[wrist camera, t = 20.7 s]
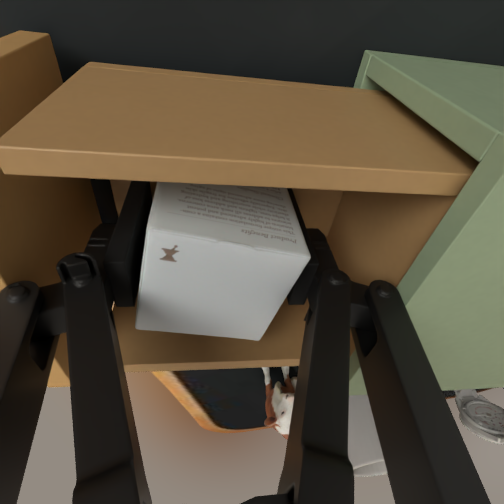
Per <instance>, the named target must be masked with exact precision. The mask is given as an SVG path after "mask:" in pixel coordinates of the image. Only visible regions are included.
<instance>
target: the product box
mask: <svg viewBox="0 0 504 504" xmlns="http://www.w3.org/2000/svg"><path fill="white" fill-rule="evenodd" d="M310 258H311V256H310V253H309V250H308V247H307V245H306V242H305V239H304V236H303V233H302V230H301V227H300V225H299V222H298V219H297V216H296V213H295V210H294V207H293V204H292V201H291V199H290V196H289V193H288V190H287V188H276V187H255V186H234V185H213V184H192V183H172V182H157V185H156V190H155V194H154V198H153V202H152V207H151V211H150V215H149V219H148V224H147V229H146V236H145V244H144V252H143V259H142V266H141V275H140V283H139V291H138V300H137V309H136V320H135V328H136V329H139V330H151V331H163V332H174V333H185V334H197V335H207V336H218V337H229V338H239V339H247V340H255V341H259V340H260V339H261V337H262V336H263V334H264V333H265V331H266V330H267V328H268V326H269V325H270V323H271V321H272V320H273V318H274V316H275V315H276V313H277V312H278V310H279V308H280V306H281V305H282V303H283V302H284V300H285V298H286V297H287V295H288V293H289V292H290V290H291V289H292V287H293V285H294V284H295V282H296V281H297V279H298V278H299V276H300V274H301V273H302V271H303V269H304V268H305V266H306V265H307V263H308V262H309V260H310Z"/></svg>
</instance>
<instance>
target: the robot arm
mask: <svg viewBox="0 0 504 504" xmlns="http://www.w3.org/2000/svg"><path fill="white" fill-rule="evenodd" d="M287 190H288V193H289V196H290V199H291V201H292V204H293V207H294V210H295V213H296V216H297V219H298V222H299V225H300V227H301V230H302V233H303V236H304V239H305V242H306V245H307V247H308V250H309V253H310V256H311V258H310V260H309V262H308V263H307V265H306V266H305V268H304V269H303V271H302V273H301V274H300V276H299V278H298V279H297V281H296V282H295V284H294V285H293V287H292V289H291V290H290V292H289V293H288V295H287V300H288V304H289V305H304V304H305V301H306V299H308V302H309V308H308V311H307V313H306V316H305V318H304V321H306V323H305V330H304V336H303V343H302V349H301V356H300V363H299V369H298V376H297V382H296V389H295V395H294V402H293V409H292V415H291V422H290V428H289V435H288V442H287V448H286V455H285V461H284V466H283V471H282V474H281V478H280V482H279V486H278V492H277V494H276V495H267V496H257V497H254V498H252V499H249V500H247V501H245V502H243V503H241V504H354V471H353V466H352V464H351V462H350V460H349V458H348V416H349V368H350V329H351V333H352V337H353V340H354V344H355V348H356V352H357V356H358V360H359V364H360V368H361V372H362V375H363V379H364V383H365V387H366V391H367V395H368V399H369V403H370V407H371V411H372V414H373V418H374V422H375V426H376V430H377V434H378V438H379V442H380V446H381V449H382V453H383V457H384V461H385V465H386V469H387V473H388V477H389V481H390V485H391V488H392V492H393V496H394V500H395V504H491V503H490V501H489V498H488V496H487V494H486V492H485V489H484V487H483V484H482V482H481V480H480V478H479V475H478V473H477V471H476V469H475V466H474V464H473V462H472V459H471V457H470V455H469V452H468V450H467V448H466V445H465V443H464V441H463V438H462V436H461V434H460V431H459V429H458V427H457V425H456V422H455V420H454V418H453V416H452V413H451V411H450V408H449V406H448V404H447V402H446V399H445V397H444V395H443V392H442V390H441V388H440V385H439V383H438V381H437V378H436V376H435V374H434V372H433V369H432V367H431V365H430V362H429V360H428V358H427V355H426V353H425V351H424V349H423V346H422V344H421V342H420V339H419V337H418V335H417V332H416V330H415V328H414V325H413V323H412V321H411V319H410V316H409V314H408V312H407V309H406V307H405V305H404V302H403V300H402V298H401V296H400V293H399V291H398V290H397V288H396V287H394V286H393V285H392V284H391V283H389V282H387V281H383V280H374V281H372V282H371V283H370V285H369V286H367V285H364V284H360V283H356V282H353V281H351V280H350V278H349V276H348V275H347V274H346V273H344V272H343V271H341V270H339V268H338V266H337V263H336V261H335V259H334V256H333V254H332V251H331V249H330V247H329V244H328V242H327V239H326V237H325V235H324V234H323V233H322V232H321V231H320V230H319V229H318V228H306V226H305V223H304V221H303V218H302V215H301V212H300V209H299V207H298V204H297V201H296V198H295V196H294V193H293V190H292V188H287ZM151 207H152V195H151V187H150V181H131V183H130V186H129V189H128V192H127V195H126V197H125V200H124V203H123V206H122V209H121V212H120V215H119V217H118V220H117V223H116V224H100V225H98V226H97V227H96V228H95V229H94V230H93V231H92V234H91V236H90V240H89V241H88V243H87V246H86V248H85V250H84V252H76V253H72V254H69V255H67V256H65V257H63V258H62V259H61V260H60V261H59V262H58V263H57V266H56V270H57V272H58V274H59V277H60V279H61V282H59V283H55V284H51V285H47V286H43V287H38V285H37V284H36V283H34V282H32V281H19V282H15V283H12V284H10V285H8V286H6V287H5V288H4V289H2V290H1V291H0V504H17V500H18V496H19V492H20V488H21V484H22V480H23V476H24V473H25V469H26V465H27V461H28V457H29V453H30V449H31V445H32V442H33V438H34V434H35V430H36V426H37V422H38V418H39V414H40V411H41V407H42V403H43V399H44V394H45V391H46V387H47V384H48V380H49V376H50V372H51V368H52V364H53V360H54V356H55V353H56V349H57V345H58V341H59V337H60V334H62V333H65V332H66V336H67V349H68V363H69V377H70V391H71V404H72V419H73V432H74V447H75V461H76V474H77V481H76V486H75V488H74V491H73V500H72V502H73V504H152V500H151V496H150V492H149V488H148V484H147V481H146V476H145V471H144V466H143V461H142V456H141V451H140V446H139V442H138V437H137V431H136V426H135V421H134V416H133V411H132V406H131V402H130V396H129V391H128V386H127V381H126V376H125V370H124V365H123V360H122V355H121V350H120V345H119V340H118V335H117V330H116V325H115V320H114V315H113V312H112V305H113V302H114V301H115V304H116V307H135V303H136V298H137V294H138V289H139V283H140V275H141V266H142V259H143V252H144V244H145V236H146V229H147V224H148V219H149V215H150V211H151Z"/></svg>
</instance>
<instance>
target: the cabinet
mask: <svg viewBox="0 0 504 504" xmlns="http://www.w3.org/2000/svg"><path fill="white" fill-rule="evenodd" d="M353 88H359V89H369V90H379V91H387V92H388V93H390V94H391V95H392V96H394V97H395V98H396V99H398V100H399V101H400V102H401V103H403V104H404V105H405V106H407V107H408V108H409V109H411V110H412V111H413V112H414V113H416V114H417V115H418V116H420V117H421V118H422V119H423V120H425V121H426V122H427V123H429V124H430V125H431V126H433V127H434V128H435V129H436V130H438V131H439V132H440V133H442V134H443V135H444V136H446V137H447V138H448V139H449V140H451V141H452V142H453V143H455V144H456V145H457V146H458V147H460V148H461V149H462V150H464V151H465V152H466V153H468V154H469V155H470V156H471V157H473V158H474V159H475V160H477V161H478V162H480V163H479V164H478V166H477V167H476V169H475V170H474V172H473V173H472V175H471V176H470V178H469V179H468V181H467V182H466V184H465V185H464V187H463V188H462V190H461V191H460V193H459V194H458V196H457V197H456V199H455V200H454V202H453V203H452V205H451V206H450V208H449V209H448V211H447V212H446V214H445V215H444V217H443V218H442V220H441V221H440V223H439V224H438V226H437V227H436V229H435V230H434V232H433V233H432V235H431V236H430V238H429V239H428V241H427V242H426V244H425V245H424V247H423V248H422V250H421V251H420V253H419V254H418V256H417V257H416V259H415V260H414V262H413V263H412V265H411V266H410V268H409V269H408V271H407V272H406V274H405V275H404V277H403V278H402V280H401V281H400V283H399V284H398V286H397V287H396V288H397V290H398V291H399V293H400V296H401V298H402V300H403V302H404V305H405V307H406V309H407V312H408V314H409V316H410V319H411V321H412V323H413V325H414V328H415V330H416V332H417V335H418V337H419V339H420V342H421V344H422V346H423V349H424V351H425V353H426V355H427V358H428V360H429V362H430V365H431V367H432V369H433V372H434V374H435V376H436V378H437V381H438V383H439V385H440V388H441V390H442V391H444V390H462V389H481V388H499V387H504V66H496V65H488V64H480V63H471V62H463V61H455V60H446V59H438V58H429V57H421V56H413V55H404V54H396V53H387V52H379V51H371V50H365V52H364V55H363V58H362V61H361V65H360V68H359V71H358V74H357V78H356V81H355V84H354V87H353ZM351 395H367V391H366V387H365V383H364V379H363V375H362V372H361V368H360V364H359V360H358V356H357V352H356V349H355V350H354V352H353V353H352V355H351V356H350V368H349V396H351Z"/></svg>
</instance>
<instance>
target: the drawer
mask: <svg viewBox="0 0 504 504" xmlns="http://www.w3.org/2000/svg"><path fill="white" fill-rule="evenodd" d="M479 163H480V162H478V161H477V160H475V159H474V158H473V157H471V156H470V155H469V154H468V153H466V152H465V151H464V150H462V149H461V148H460V147H458V146H457V145H456V144H455V143H453V142H452V141H451V140H449V139H448V138H447V137H446V136H444V135H443V134H442V133H440V132H439V131H438V130H436V129H435V128H434V127H433V126H431V125H430V124H429V123H427V122H426V121H425V120H423V119H422V118H421V117H420V116H418V115H417V114H416V113H414V112H413V111H412V110H411V109H409V108H408V107H407V106H405V105H404V104H403V103H401V102H400V101H399V100H398V99H396V98H395V97H394V96H392V95H391V94H390V93H388V92H387V91H379V90H369V89H359V88H349V87H339V86H329V85H319V84H309V83H299V82H288V81H278V80H268V79H258V78H248V77H238V76H228V75H218V74H208V73H198V72H188V71H178V70H168V69H158V68H148V67H138V66H128V65H118V64H108V63H98V62H88V63H87V64H86V65H85V66H84V67H82V68H81V69H80V70H79V71H77V72H76V73H75V74H74V75H73V76H72V77H70V78H69V79H68V80H67V81H66V82H65V83H63V80H62V77H61V73H60V70H59V66H58V62H57V59H56V55H55V52H54V48H53V44H52V41H51V37H50V35H49V34H48V33H39V32H30V31H21V30H19V31H17V32H14V33H12V34H9V35H7V36H4V37H1V38H0V291H1V290H2V289H4V288H5V287H6V286H8V285H10V284H12V283H15V282H19V281H32V282H34V283H36V284H37V285H38V287H43V286H47V285H51V284H55V283H59V282H61V279H60V277H59V274H58V272H57V270H56V266H57V263H58V262H59V261H60V260H61V259H62V258H63V257H65V256H67V255H69V254H72V253H76V252H84V250H85V248H86V246H87V243H88V241H89V240H90V236H91V234H92V231H93V230H94V229H95V228H96V227H97V226H98V225H100V224H102V221H101V217H100V214H99V210H98V206H97V203H96V199H95V196H94V192H93V188H92V185H91V181H90V179H109V180H110V183H111V188H112V192H113V196H114V201H115V205H116V210H117V214H118V217H119V215H120V212H121V209H122V206H123V203H124V200H125V197H126V195H127V192H128V189H129V186H130V183H131V181H150V187H151V195H152V202H153V198H154V194H155V190H156V185H157V182H172V183H192V184H213V185H234V186H255V187H276V188H292V190H293V193H294V196H295V198H296V201H297V204H298V207H299V209H300V212H301V215H302V218H303V221H304V223H305V226H306V228H318V229H319V230H320V231H321V232H322V233H323V234H324V235H325V237H326V239H327V242H328V244H329V247H330V249H331V251H332V254H333V256H334V259H335V261H336V263H337V266H338V268H339V270H341V271H343V272H344V273H346V274H347V275H348V276H349V278H350V280H351V281H353V282H356V283H360V284H364V285H367V286H369V285H370V283H371V282H372V281H374V280H383V281H387V282H389V283H391V284H392V285H393V286H394V287H397V286H398V284H399V283H400V281H401V280H402V278H403V277H404V275H405V274H406V272H407V271H408V269H409V268H410V266H411V265H412V263H413V262H414V260H415V259H416V257H417V256H418V254H419V253H420V251H421V250H422V248H423V247H424V245H425V244H426V242H427V241H428V239H429V238H430V236H431V235H432V233H433V232H434V230H435V229H436V227H437V226H438V224H439V223H440V221H441V220H442V218H443V217H444V215H445V214H446V212H447V211H448V209H449V208H450V206H451V205H452V203H453V202H454V200H455V199H456V197H457V196H458V194H459V193H460V191H461V190H462V188H463V187H464V185H465V184H466V182H467V181H468V179H469V178H470V176H471V175H472V173H473V172H474V170H475V169H476V167H477V166H478V164H479ZM138 291H139V289H138ZM137 300H138V294H137V298H136V303H135V307H116V304H114V307H113V311H112V312H113V315H114V320H115V325H116V330H117V335H118V340H119V345H120V350H121V355H122V360H123V365H124V370H125V372H147V371H148V372H149V371H176V370H202V369H229V368H255V367H281V366H299V363H300V356H301V349H302V343H303V336H304V330H305V323H306V321H304V318H305V316H306V313H307V311H308V308H309V302H308V299H306V301H305V304H304V305H289V304H288V300H287V297H286V298H285V300H284V302H283V303H282V305H281V306H280V308H279V310H278V312H277V313H276V315H275V316H274V318H273V320H272V321H271V323H270V325H269V326H268V328H267V330H266V331H265V333H264V334H263V336H262V337H261V339H260V340H259V341H255V340H247V339H239V338H229V337H218V336H207V335H197V334H185V333H174V332H163V331H151V330H139V329H136V328H135V320H136V309H137ZM355 349H356V348H355V344H354V340H353V337H352V333H351V329H350V356H351V355H352V353H353V352H354V350H355ZM47 386H48V387H66V386H67V387H68V386H70V377H69V363H68V349H67V336H66V332H65V333H62V334H60V337H59V341H58V345H57V349H56V353H55V356H54V360H53V364H52V368H51V372H50V376H49V380H48V384H47Z"/></svg>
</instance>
